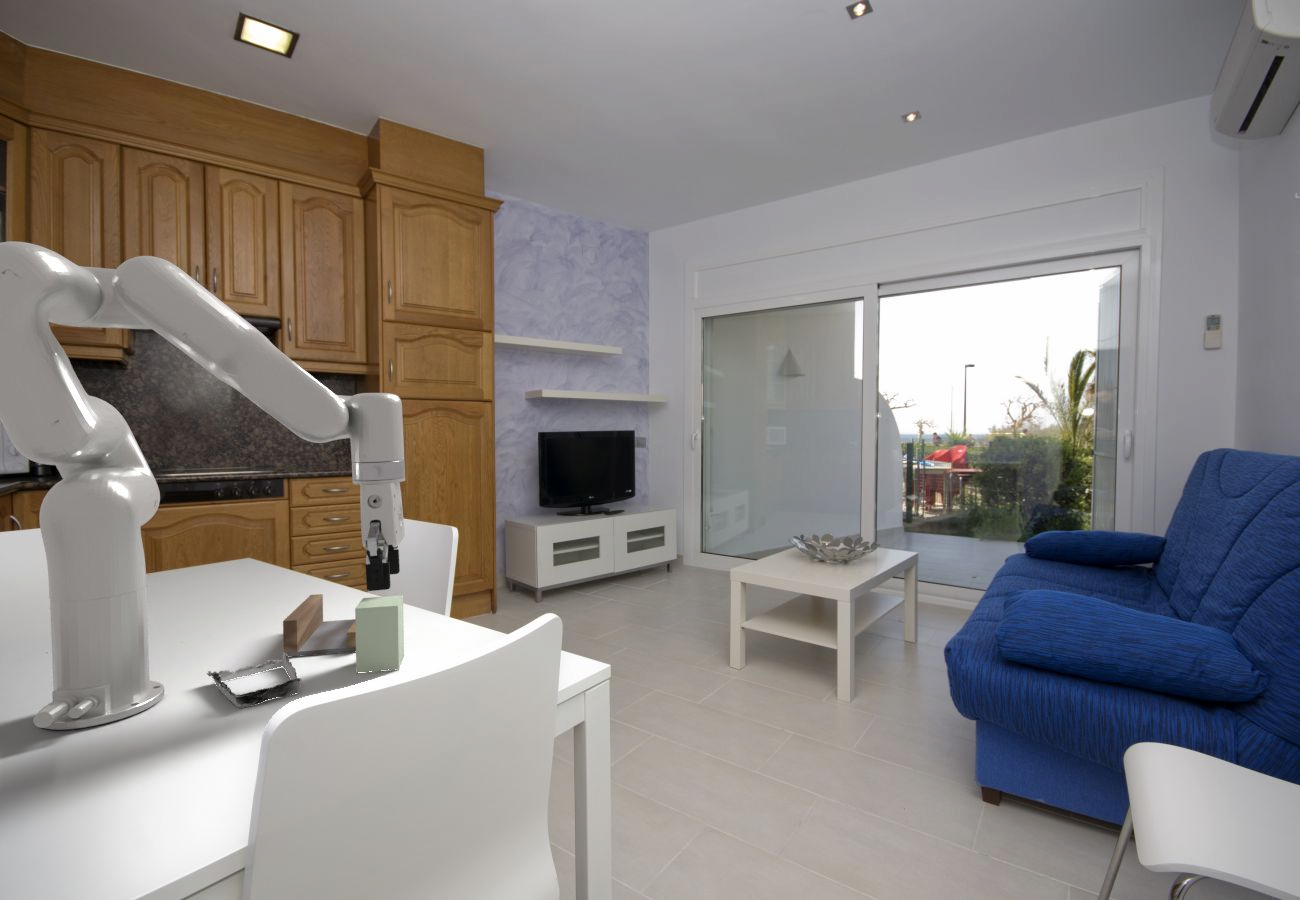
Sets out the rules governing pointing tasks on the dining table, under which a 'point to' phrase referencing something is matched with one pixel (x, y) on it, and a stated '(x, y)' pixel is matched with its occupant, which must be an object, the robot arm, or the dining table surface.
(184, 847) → the dining table surface
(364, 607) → the pale green tall block
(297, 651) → the cleat board
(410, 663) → the dining table surface
